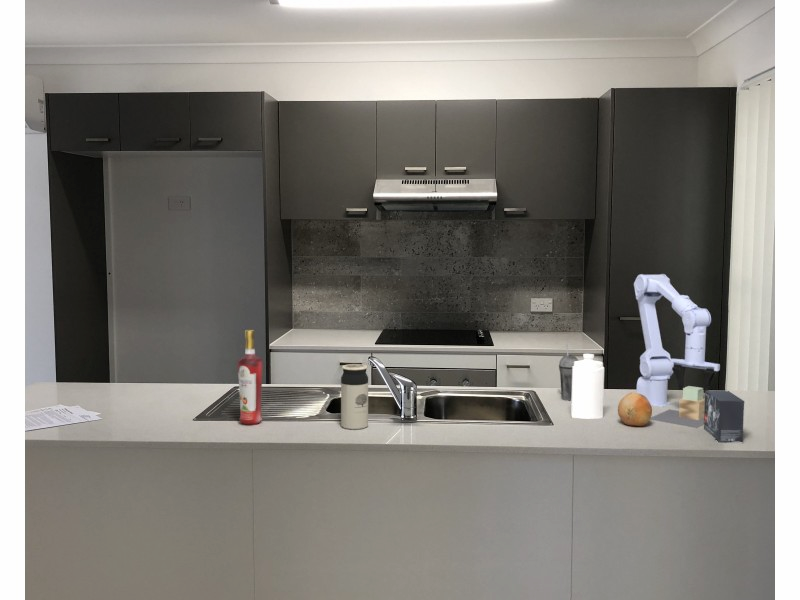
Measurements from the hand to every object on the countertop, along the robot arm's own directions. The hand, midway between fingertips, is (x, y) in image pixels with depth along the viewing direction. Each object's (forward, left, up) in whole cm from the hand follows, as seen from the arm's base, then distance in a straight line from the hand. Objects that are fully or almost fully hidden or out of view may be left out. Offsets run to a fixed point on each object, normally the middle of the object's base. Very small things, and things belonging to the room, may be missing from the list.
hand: (693, 390), depth 222 cm
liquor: (-94, -99, -9) cm, 137 cm away
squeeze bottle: (-24, -23, -9) cm, 34 cm away
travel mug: (-69, -80, -9) cm, 106 cm away
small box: (+14, -15, -9) cm, 22 cm away
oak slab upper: (0, 0, -5) cm, 5 cm away
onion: (-9, -22, -9) cm, 25 cm away
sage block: (0, 0, -3) cm, 3 cm away
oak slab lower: (0, 0, -8) cm, 8 cm away
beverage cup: (-41, -4, -9) cm, 42 cm away
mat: (-1, -4, -9) cm, 10 cm away
